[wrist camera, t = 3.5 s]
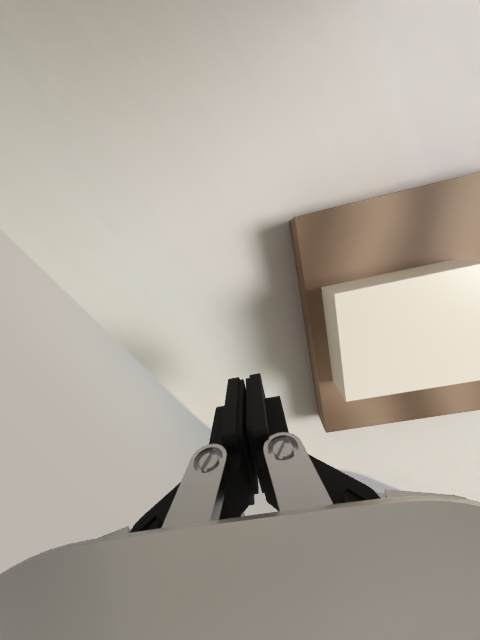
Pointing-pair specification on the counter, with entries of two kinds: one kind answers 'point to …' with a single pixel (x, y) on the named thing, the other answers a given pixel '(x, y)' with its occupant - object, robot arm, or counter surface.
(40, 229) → the counter surface
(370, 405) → the board
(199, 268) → the counter surface
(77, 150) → the counter surface
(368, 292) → the block
